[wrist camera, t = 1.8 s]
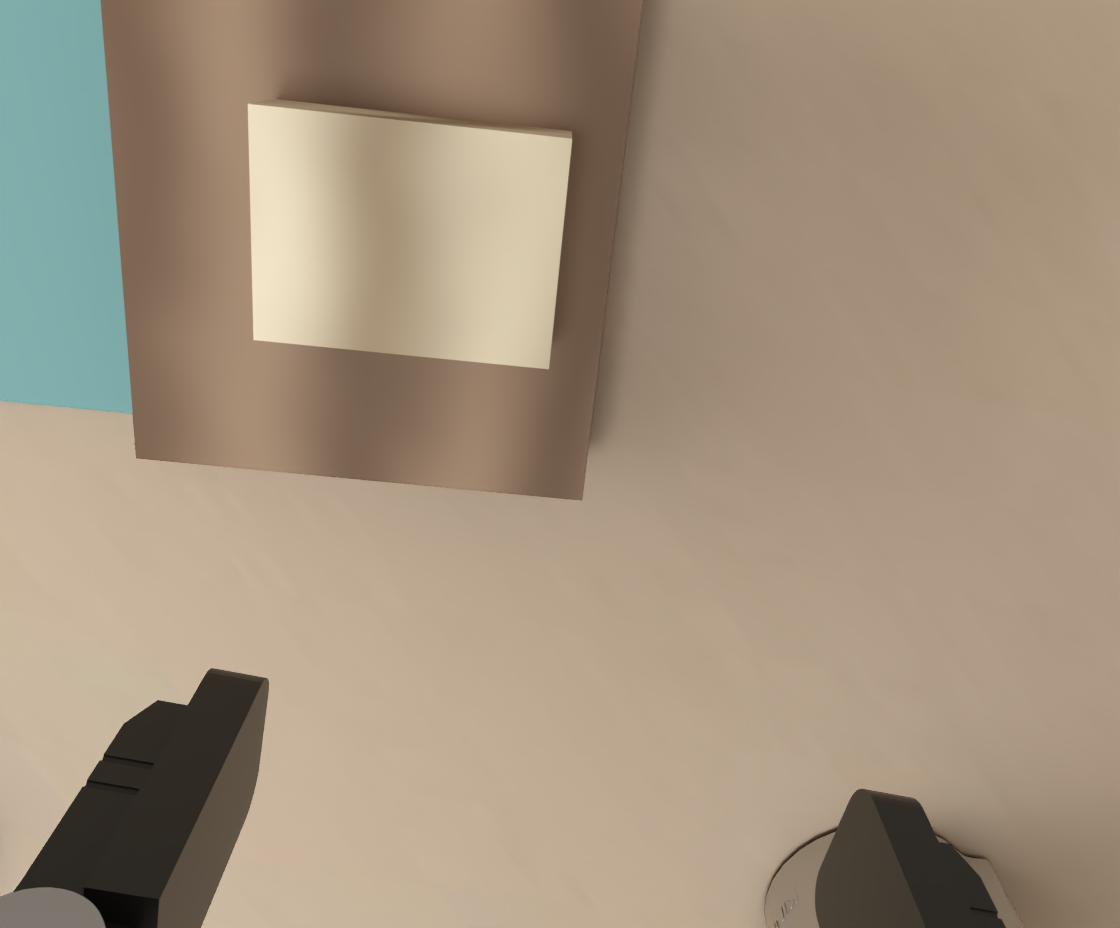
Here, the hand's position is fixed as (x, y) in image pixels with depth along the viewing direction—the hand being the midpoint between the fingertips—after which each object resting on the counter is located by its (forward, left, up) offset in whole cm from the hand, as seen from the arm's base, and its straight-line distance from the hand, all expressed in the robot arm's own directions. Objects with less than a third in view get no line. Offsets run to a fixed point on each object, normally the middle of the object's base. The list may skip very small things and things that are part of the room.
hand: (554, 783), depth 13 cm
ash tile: (+4, -4, -17) cm, 18 cm away
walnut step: (+6, -4, -21) cm, 23 cm away
